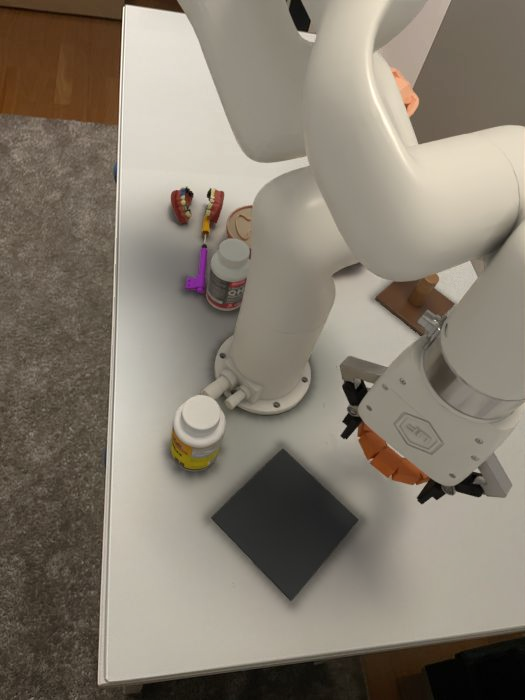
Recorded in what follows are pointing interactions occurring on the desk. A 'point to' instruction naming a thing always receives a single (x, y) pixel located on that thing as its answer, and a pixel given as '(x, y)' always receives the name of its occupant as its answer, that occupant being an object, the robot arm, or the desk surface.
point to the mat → (285, 522)
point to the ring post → (415, 300)
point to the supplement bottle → (197, 433)
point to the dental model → (184, 198)
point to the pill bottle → (228, 275)
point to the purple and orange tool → (200, 279)
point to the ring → (388, 458)
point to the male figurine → (406, 92)
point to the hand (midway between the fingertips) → (388, 459)
